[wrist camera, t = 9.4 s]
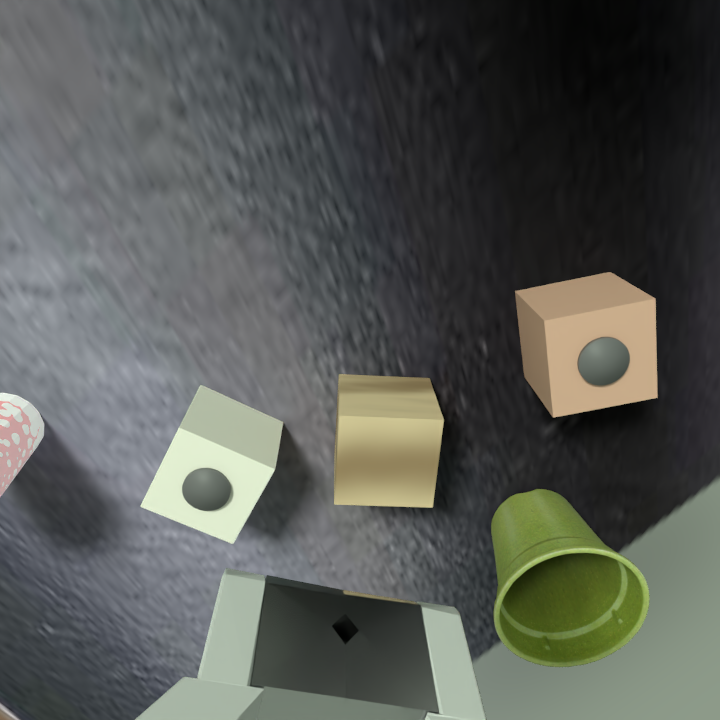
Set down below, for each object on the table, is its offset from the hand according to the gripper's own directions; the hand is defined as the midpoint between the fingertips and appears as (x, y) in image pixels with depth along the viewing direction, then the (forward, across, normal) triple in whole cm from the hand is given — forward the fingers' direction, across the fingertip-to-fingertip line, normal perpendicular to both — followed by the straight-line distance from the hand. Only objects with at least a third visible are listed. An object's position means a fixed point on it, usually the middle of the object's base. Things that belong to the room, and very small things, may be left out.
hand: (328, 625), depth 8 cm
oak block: (+31, -6, +12) cm, 34 cm away
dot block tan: (+31, -16, +3) cm, 35 cm away
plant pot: (+31, -19, +18) cm, 41 cm away
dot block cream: (+31, +4, +16) cm, 35 cm away
